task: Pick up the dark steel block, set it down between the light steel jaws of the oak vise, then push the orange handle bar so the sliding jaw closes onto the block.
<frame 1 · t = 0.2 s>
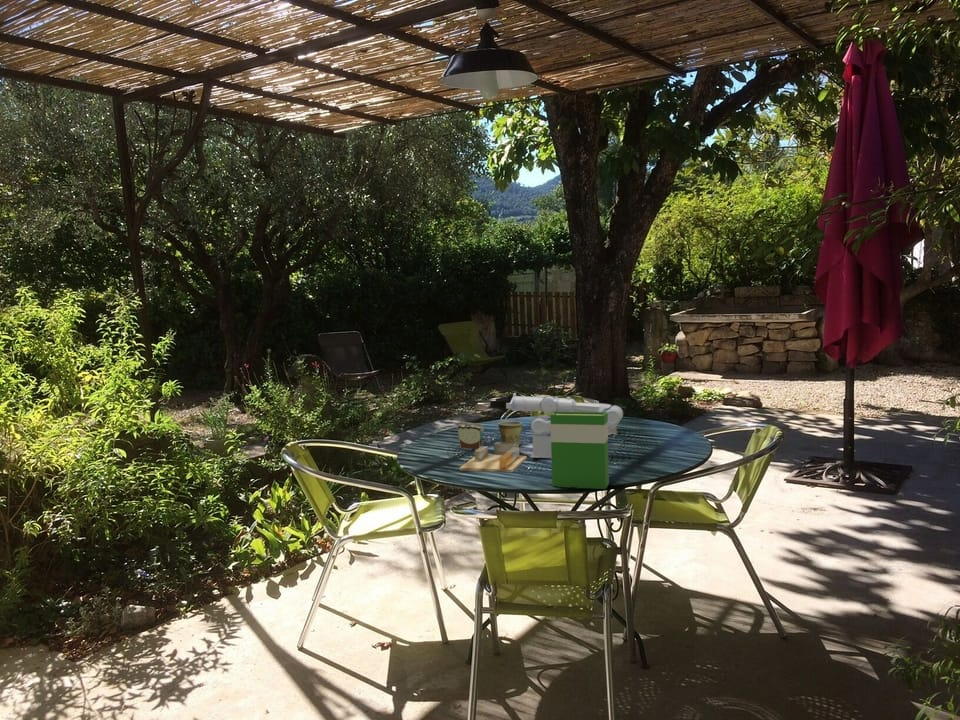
hand: (493, 402, 301), 21 cm above the table, tool horizontal, fingers open, 7 cm apart
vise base: (497, 461, 290), on the table
sliding jaw: (509, 457, 283), point 3 cm above the table, slide at 0.0 cm
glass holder: (601, 434, 338), on the table
steel block: (505, 455, 302), on the table
green box: (580, 485, 251), on the table
food container: (473, 448, 318), on the table
ceramic cup: (511, 446, 319), on the table
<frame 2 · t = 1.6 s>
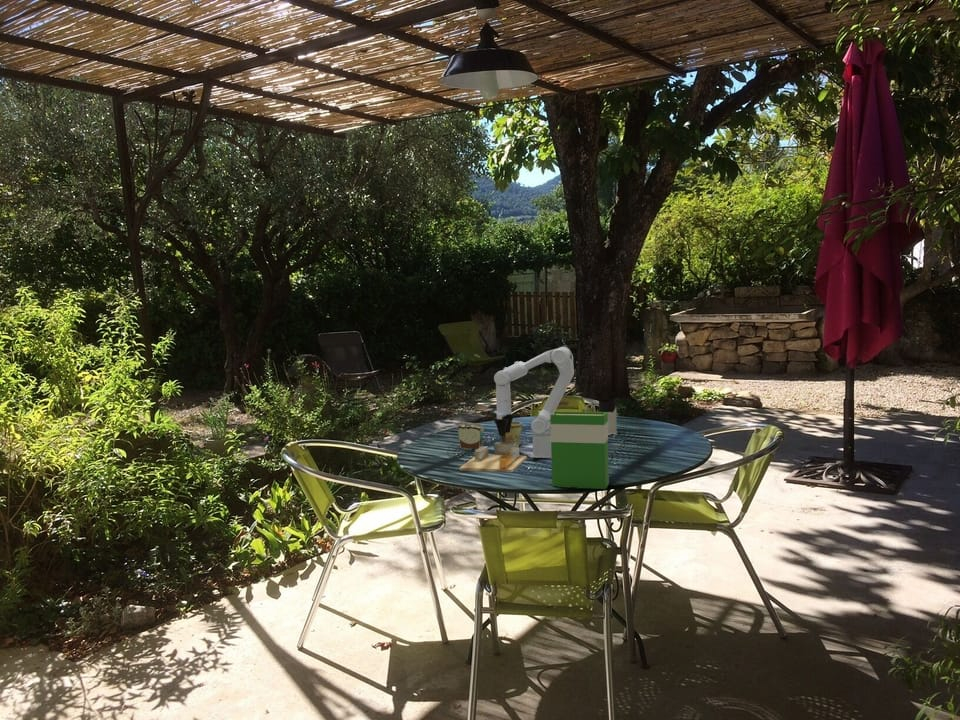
hand: (504, 434, 301), 8 cm above the table, tool pointing down, fingers open, 7 cm apart
nothing on the table moved.
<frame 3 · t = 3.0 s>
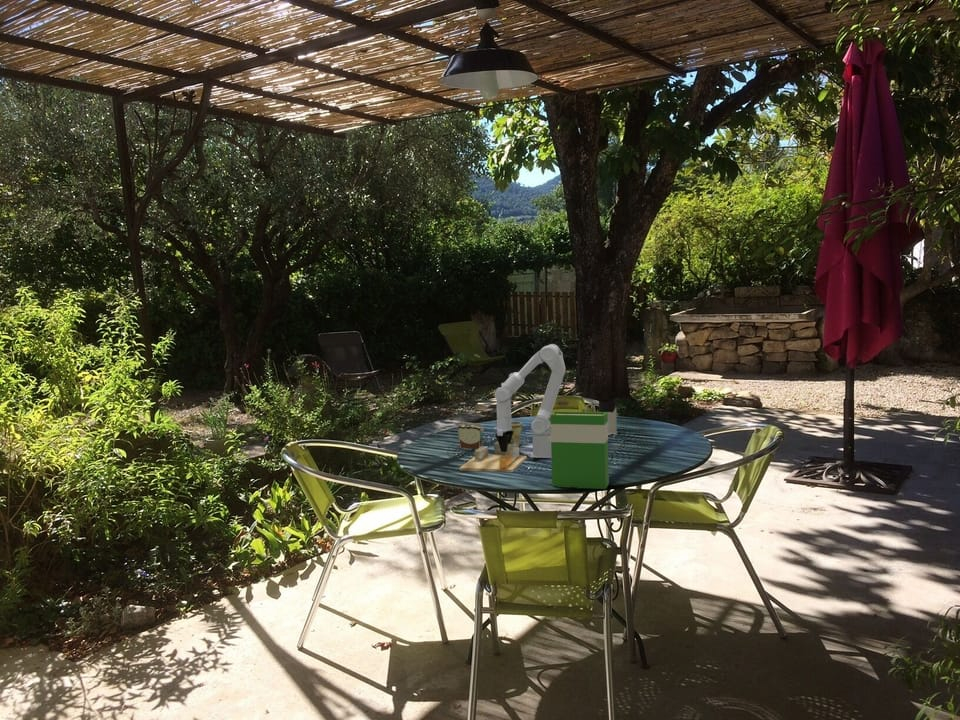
hand: (505, 450, 301), 2 cm above the table, tool pointing down, fingers closed on steel block, 4 cm apart
steel block: (505, 455, 302), on the table, touching gripper
everything else where it was.
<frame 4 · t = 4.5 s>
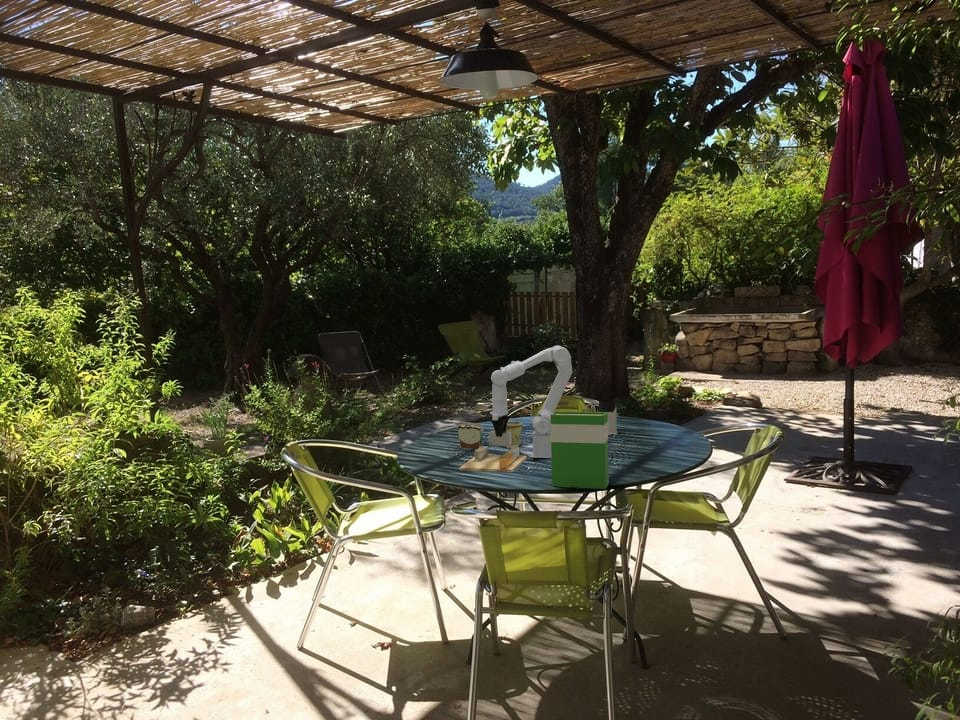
hand: (500, 435, 296), 9 cm above the table, tool pointing down, fingers closed on steel block, 4 cm apart
steel block: (500, 444, 296), point 5 cm above the table, touching gripper
everything else where it was.
when the fingers open (4 cm above the table, at t = 6.3 s): steel block stays where it is, resting on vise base.
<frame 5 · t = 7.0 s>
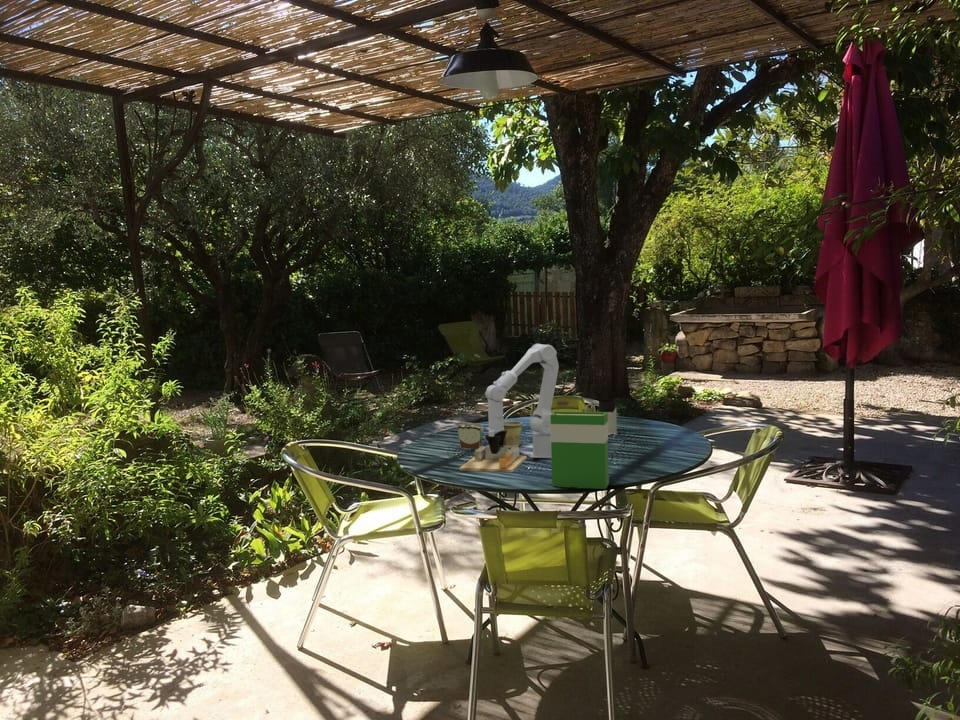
hand: (497, 451, 290), 4 cm above the table, tool pointing down, fingers open, 7 cm apart
steel block: (496, 459, 290), point 1 cm above the table, touching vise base
everything else where it was.
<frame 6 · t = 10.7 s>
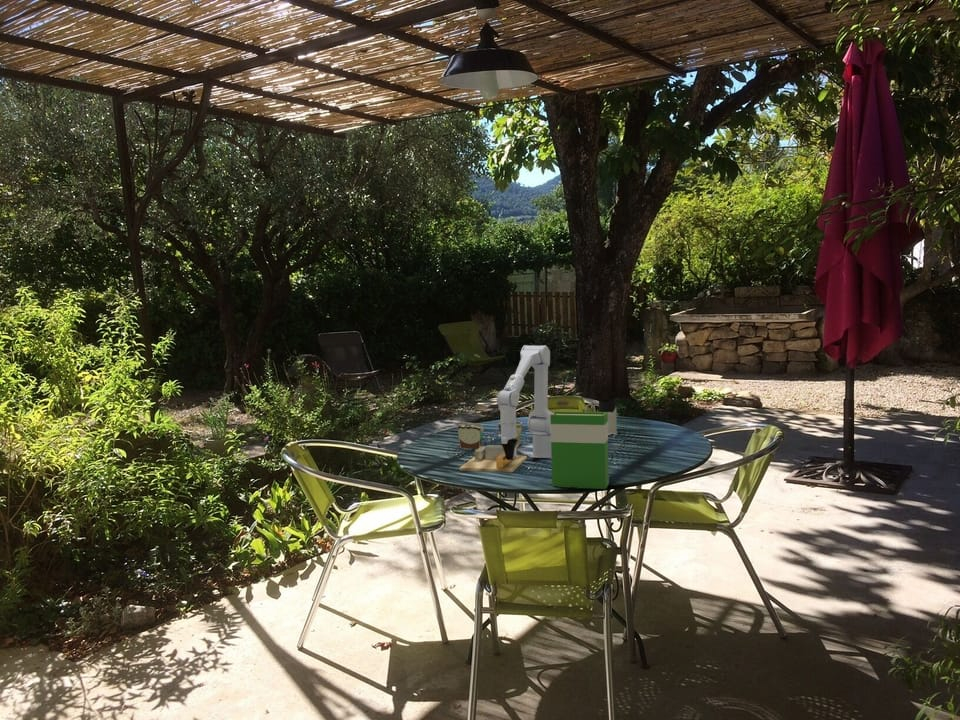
hand: (509, 459, 278), 3 cm above the table, tool pointing down, fingers closed, pressing on sliding jaw
sliding jaw: (506, 457, 284), point 3 cm above the table, slide at 1.2 cm, touching gripper
everything else where it was.
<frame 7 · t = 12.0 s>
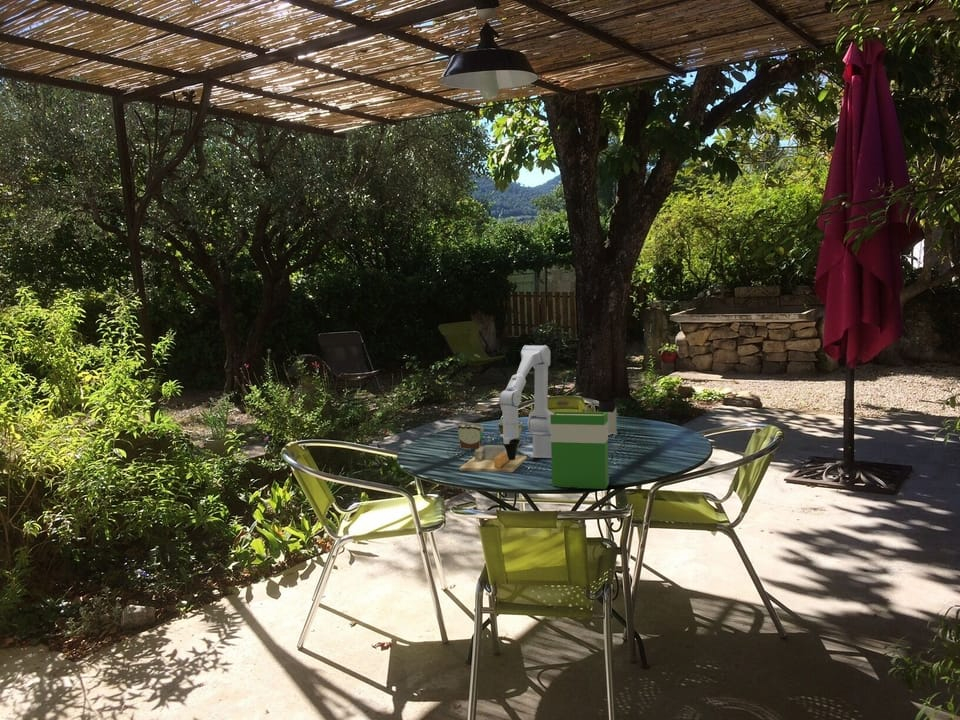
hand: (511, 459, 277), 3 cm above the table, tool pointing down, fingers closed
sliding jaw: (504, 456, 284), point 3 cm above the table, slide at 2.0 cm, touching steel block
steel block: (494, 459, 290), point 1 cm above the table, touching sliding jaw, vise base
everything else where it was.
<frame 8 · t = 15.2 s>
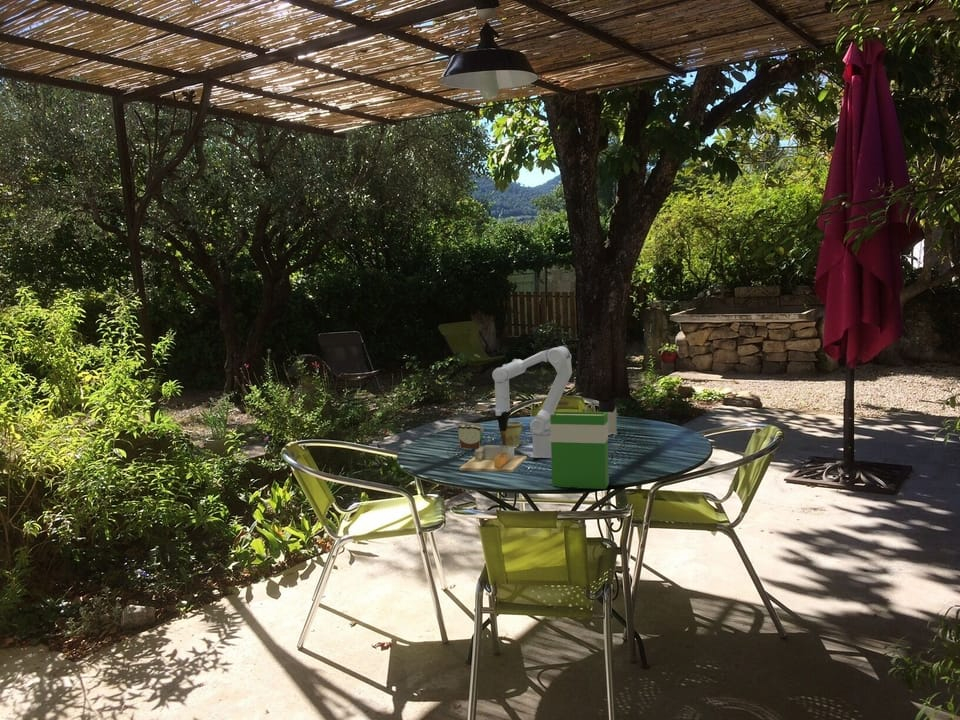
hand: (503, 430, 303), 9 cm above the table, tool pointing down, fingers closed
nothing on the table moved.
at the end: steel block 1.0 cm off-centre on the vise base, point 1.0 cm above the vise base's base; steel block tilted 0°; sliding jaw touching steel block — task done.
